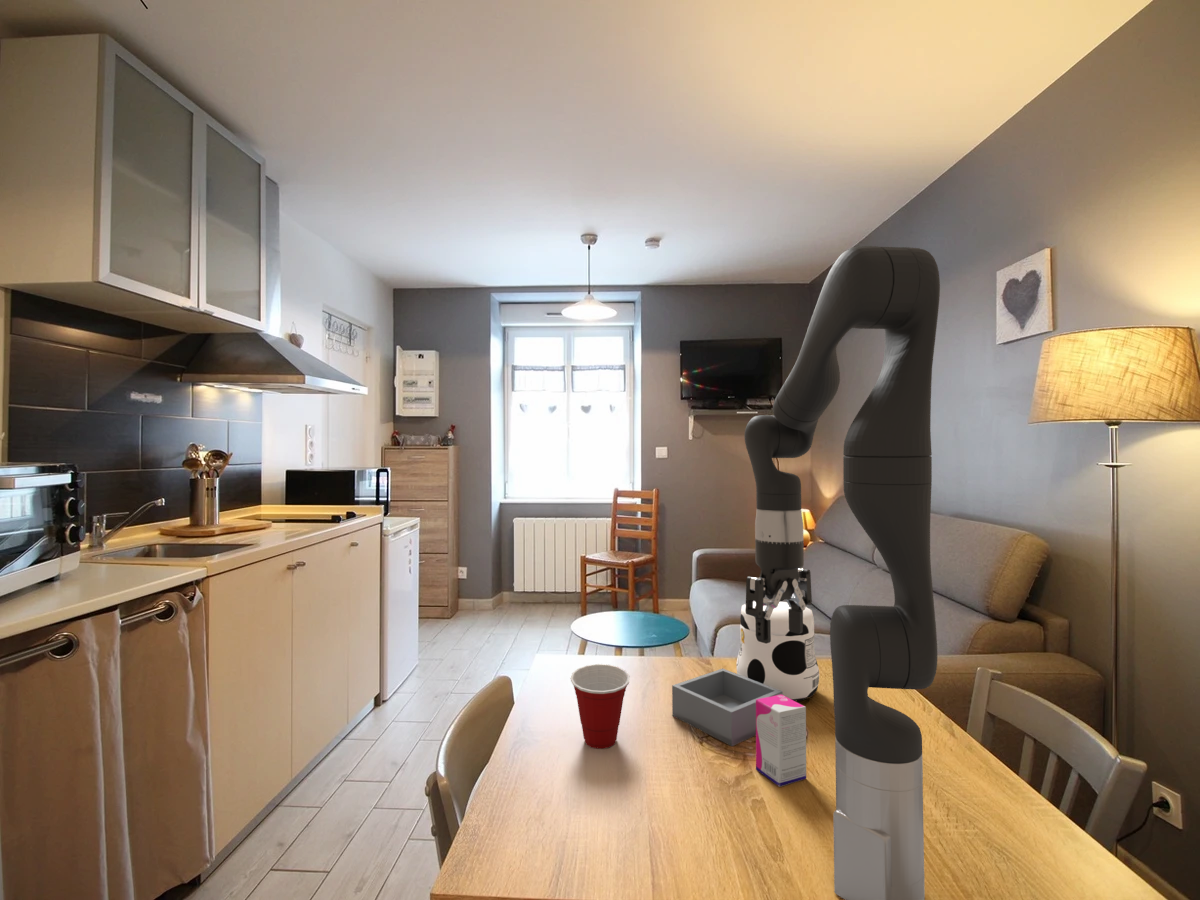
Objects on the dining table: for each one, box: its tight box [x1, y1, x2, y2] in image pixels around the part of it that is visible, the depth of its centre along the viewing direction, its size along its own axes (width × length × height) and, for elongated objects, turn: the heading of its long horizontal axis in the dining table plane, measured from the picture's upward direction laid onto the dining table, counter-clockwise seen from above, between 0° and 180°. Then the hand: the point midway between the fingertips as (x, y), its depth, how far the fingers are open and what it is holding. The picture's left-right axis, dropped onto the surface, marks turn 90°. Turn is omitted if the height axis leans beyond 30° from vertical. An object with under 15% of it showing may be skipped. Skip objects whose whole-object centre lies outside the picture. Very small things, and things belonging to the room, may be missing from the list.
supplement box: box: [755, 695, 807, 787], centre depth 90 cm, size 6×6×12 cm
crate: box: [671, 668, 783, 747], centre depth 110 cm, size 15×15×6 cm
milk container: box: [736, 601, 820, 702], centre depth 123 cm, size 17×17×18 cm
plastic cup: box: [569, 663, 631, 750], centre depth 101 cm, size 11×11×12 cm
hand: (780, 637), depth 91 cm, fingers open, 8 cm apart
